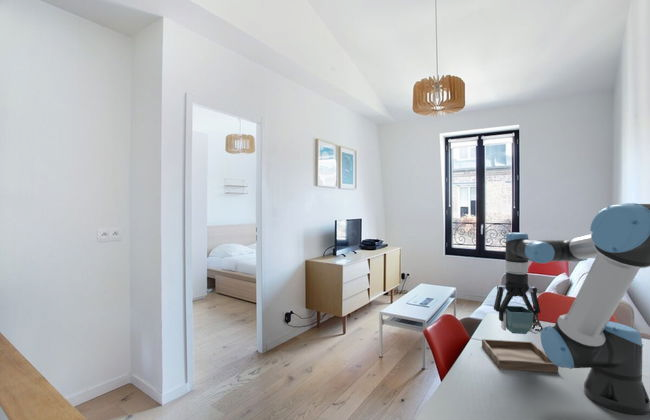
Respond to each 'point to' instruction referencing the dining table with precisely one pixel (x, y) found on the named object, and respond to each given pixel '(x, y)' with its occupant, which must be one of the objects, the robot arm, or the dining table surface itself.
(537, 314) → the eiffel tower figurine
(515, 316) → the flower pot
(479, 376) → the dining table surface
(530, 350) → the box
